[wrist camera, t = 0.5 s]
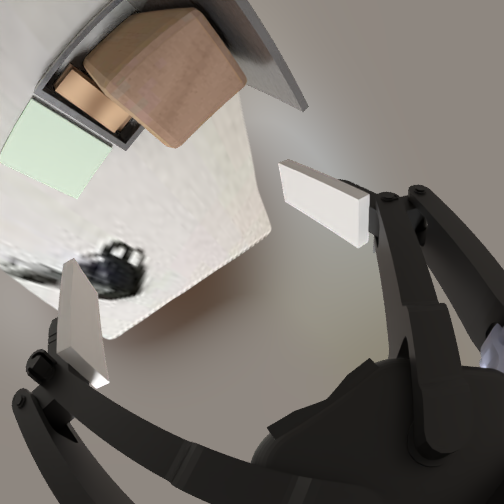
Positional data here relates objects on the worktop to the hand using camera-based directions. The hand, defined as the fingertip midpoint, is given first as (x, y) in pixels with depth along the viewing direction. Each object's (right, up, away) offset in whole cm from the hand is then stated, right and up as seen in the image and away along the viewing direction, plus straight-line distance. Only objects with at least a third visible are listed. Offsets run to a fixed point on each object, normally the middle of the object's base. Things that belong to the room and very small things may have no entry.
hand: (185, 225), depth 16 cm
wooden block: (-13, +25, +14) cm, 32 cm away
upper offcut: (-17, +19, +13) cm, 29 cm away
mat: (-25, +13, +16) cm, 32 cm away
